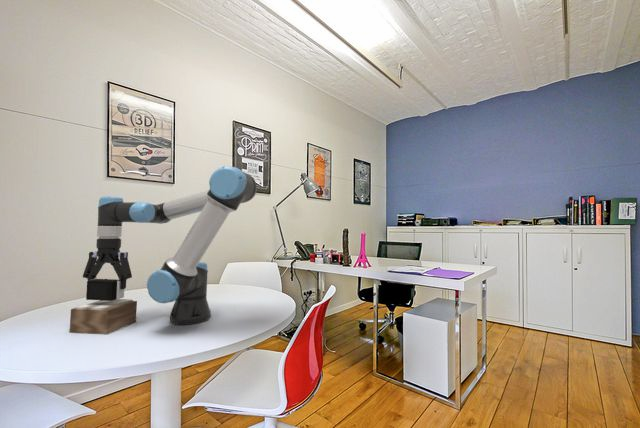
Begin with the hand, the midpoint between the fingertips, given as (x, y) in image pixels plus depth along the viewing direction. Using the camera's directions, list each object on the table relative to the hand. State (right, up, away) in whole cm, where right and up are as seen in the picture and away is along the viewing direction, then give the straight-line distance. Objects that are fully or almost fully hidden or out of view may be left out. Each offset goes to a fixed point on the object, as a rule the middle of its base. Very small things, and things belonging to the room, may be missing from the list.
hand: (106, 297), depth 109 cm
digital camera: (0, -1, -1) cm, 1 cm away
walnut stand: (0, -11, -1) cm, 11 cm away
